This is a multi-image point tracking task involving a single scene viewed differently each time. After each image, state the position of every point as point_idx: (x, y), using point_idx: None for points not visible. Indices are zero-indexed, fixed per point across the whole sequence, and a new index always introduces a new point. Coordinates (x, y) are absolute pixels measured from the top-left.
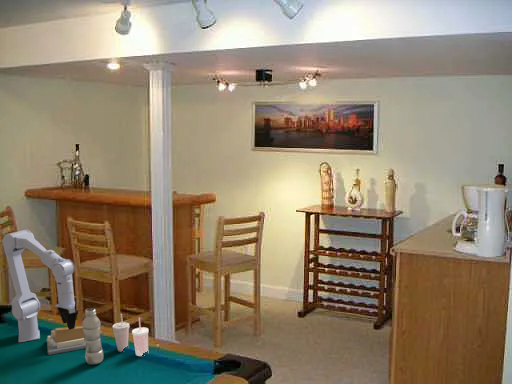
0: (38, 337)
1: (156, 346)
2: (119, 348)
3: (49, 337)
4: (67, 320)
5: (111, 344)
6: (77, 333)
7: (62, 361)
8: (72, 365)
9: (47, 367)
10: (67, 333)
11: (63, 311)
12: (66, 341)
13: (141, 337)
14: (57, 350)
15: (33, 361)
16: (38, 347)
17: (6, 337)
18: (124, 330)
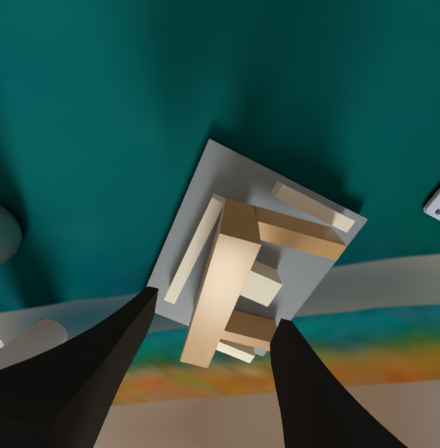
0: (436, 209)
1: None
2: (30, 327)
3: (328, 217)
4: (83, 336)
5: None
6: (195, 306)
7: (95, 148)
8: (27, 155)
9: (77, 61)
10: (205, 273)
11: (313, 431)
12: (201, 242)
13: None
14: (191, 181)
15: (200, 45)
16: (338, 155)
17: None
18: None
